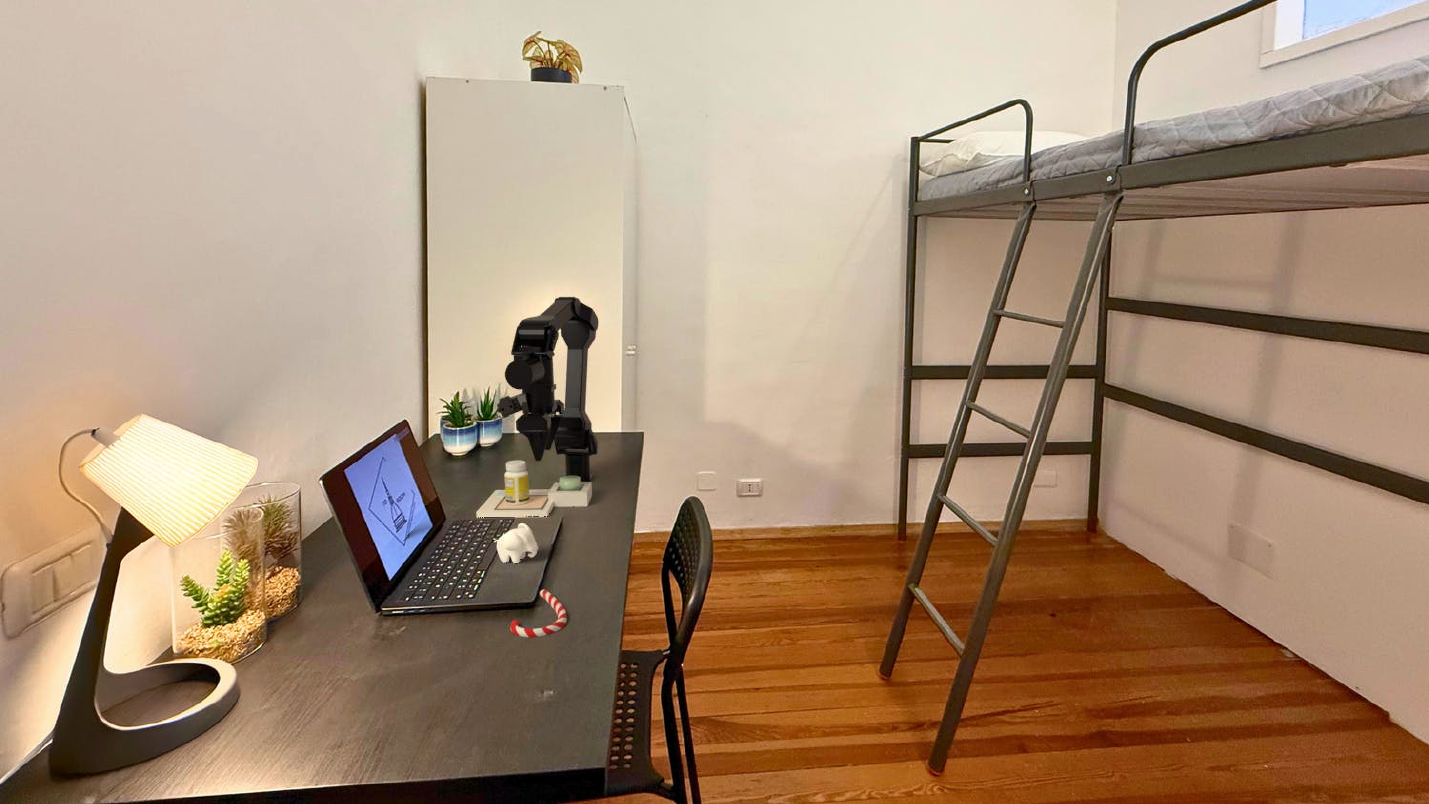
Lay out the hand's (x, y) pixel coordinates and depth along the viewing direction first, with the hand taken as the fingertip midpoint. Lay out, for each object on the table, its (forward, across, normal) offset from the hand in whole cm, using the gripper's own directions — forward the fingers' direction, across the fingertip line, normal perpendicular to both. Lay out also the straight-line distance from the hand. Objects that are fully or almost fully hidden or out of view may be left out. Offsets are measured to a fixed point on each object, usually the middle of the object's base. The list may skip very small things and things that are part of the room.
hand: (543, 455), depth 169 cm
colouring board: (+10, +1, -5) cm, 12 cm away
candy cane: (+10, +54, +10) cm, 56 cm away
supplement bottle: (+9, +3, -5) cm, 11 cm away
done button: (+8, -2, +5) cm, 10 cm away
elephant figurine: (+10, +33, +2) cm, 35 cm away
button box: (+11, -2, +5) cm, 12 cm away
